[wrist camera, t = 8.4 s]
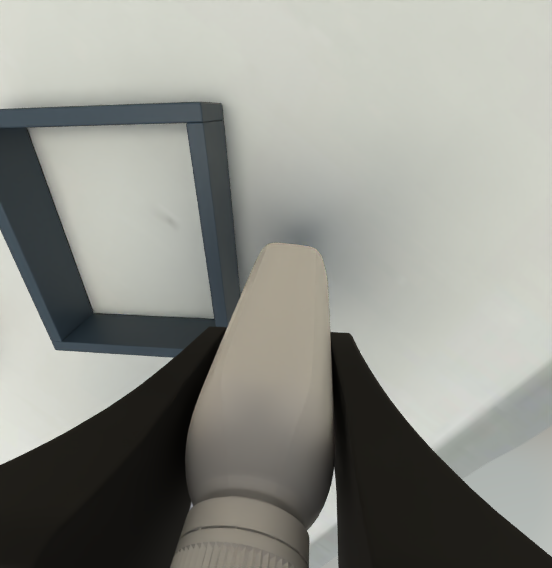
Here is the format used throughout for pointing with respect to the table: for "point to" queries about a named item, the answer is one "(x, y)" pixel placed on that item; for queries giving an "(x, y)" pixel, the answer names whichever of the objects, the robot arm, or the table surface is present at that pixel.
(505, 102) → the table surface
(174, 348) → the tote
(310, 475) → the eye dropper bottle
